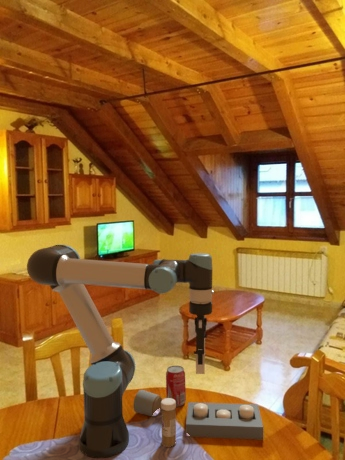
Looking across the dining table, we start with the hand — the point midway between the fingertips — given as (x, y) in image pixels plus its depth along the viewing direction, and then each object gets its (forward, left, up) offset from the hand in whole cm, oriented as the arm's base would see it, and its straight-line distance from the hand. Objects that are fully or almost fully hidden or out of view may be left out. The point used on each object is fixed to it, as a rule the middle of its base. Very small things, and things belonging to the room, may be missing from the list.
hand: (200, 364), depth 129 cm
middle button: (+7, 0, -19) cm, 20 cm away
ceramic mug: (-19, +7, -21) cm, 29 cm away
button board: (+7, 0, -20) cm, 22 cm away
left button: (0, 0, -17) cm, 17 cm away
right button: (+15, 0, -17) cm, 23 cm away
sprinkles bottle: (-10, -11, -21) cm, 25 cm away
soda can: (-10, +14, -21) cm, 27 cm away
